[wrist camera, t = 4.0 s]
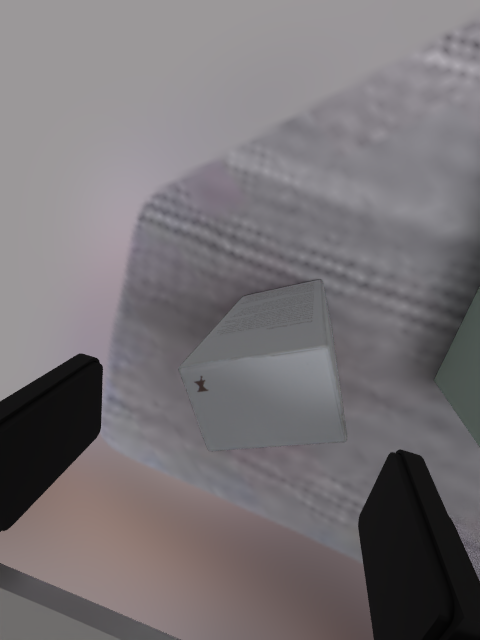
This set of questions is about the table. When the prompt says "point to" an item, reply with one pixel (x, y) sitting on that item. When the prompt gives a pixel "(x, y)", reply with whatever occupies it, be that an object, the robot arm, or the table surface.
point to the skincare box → (268, 373)
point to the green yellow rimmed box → (464, 371)
